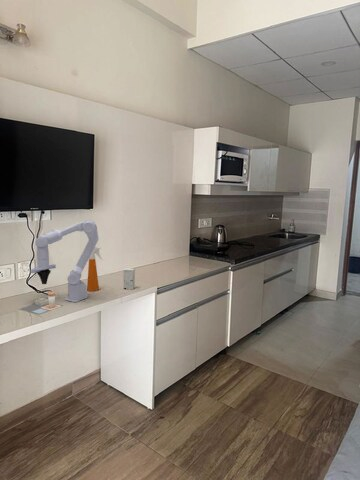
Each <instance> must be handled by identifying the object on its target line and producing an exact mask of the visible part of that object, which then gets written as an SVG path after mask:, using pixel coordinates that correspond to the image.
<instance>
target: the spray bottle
mask: <svg viewBox="0 0 360 480" xmlns="http://www.w3.org/2000/svg"><path fill="white" fill-rule="evenodd" d="M100 250H101V247H100V246H95V248H94V250H93V251H92V253H91V255H90V257H89V259H88V268H87V269H88V270H87V271H88V272H87V282H86V283H87V284H86V290H87V291H88V292H96V290H97V291H99V290H100V286H99V279H98V278H99V276H98V270H97V261H96V256H98V258H99V259H100V260H101V261H103V260H104V258H103V257H102V255H101V254H100ZM95 254H96V255H95Z"/></svg>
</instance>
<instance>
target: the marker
mask: <svg viewBox="0 0 360 480" xmlns="http://www.w3.org/2000/svg"><path fill="white" fill-rule="evenodd" d="M47 296H48V297H47V299H48V303H49V308H54V307H55V304H56V292H55V291H48V292H47Z"/></svg>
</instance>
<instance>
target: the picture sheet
mask: <svg viewBox="0 0 360 480" xmlns="http://www.w3.org/2000/svg"><path fill="white" fill-rule="evenodd" d="M61 307H64V305H62V304H58V303H55V307H54V308H49V303H48V304H45V305H42V306H41V305H36V304H35V303H34V304H33V303H32V304H31V305H28V306H24V307H21V308H19V309H18V310H20V311H24V312H27V313H32V314H35V315H42V314H44V313H48V312H50V311H53V310H55V309H59V308H61Z"/></svg>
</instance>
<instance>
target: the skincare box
mask: <svg viewBox="0 0 360 480" xmlns="http://www.w3.org/2000/svg"><path fill="white" fill-rule="evenodd" d="M135 276H136V269H135V268H132V267H131V268H129V267H125V268H124V269H123V285H122V286H123V288H126V289H125V290H134V289H135V288H136V286H135V282H136V281H135V280H136V277H135ZM134 287H135V288H134ZM133 288H134V289H133Z"/></svg>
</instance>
